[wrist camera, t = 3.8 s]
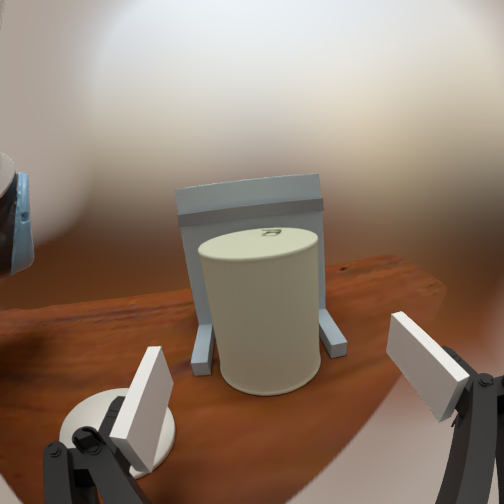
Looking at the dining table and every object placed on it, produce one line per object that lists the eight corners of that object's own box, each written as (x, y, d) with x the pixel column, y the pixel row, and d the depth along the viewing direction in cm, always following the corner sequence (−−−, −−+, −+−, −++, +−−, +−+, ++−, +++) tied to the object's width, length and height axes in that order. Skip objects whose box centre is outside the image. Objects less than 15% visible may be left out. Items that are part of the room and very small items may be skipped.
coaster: (44, 454, 12) (40, 450, 11) (98, 385, 21) (95, 380, 21) (150, 501, 10) (146, 497, 10) (191, 400, 20) (189, 395, 20)
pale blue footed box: (346, 354, 23) (345, 172, 19) (194, 375, 23) (154, 194, 19) (310, 295, 37) (302, 174, 33) (207, 308, 36) (187, 187, 32)
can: (330, 341, 26) (328, 221, 23) (302, 406, 18) (297, 252, 15) (248, 330, 30) (234, 223, 27) (201, 380, 22) (170, 249, 19)
